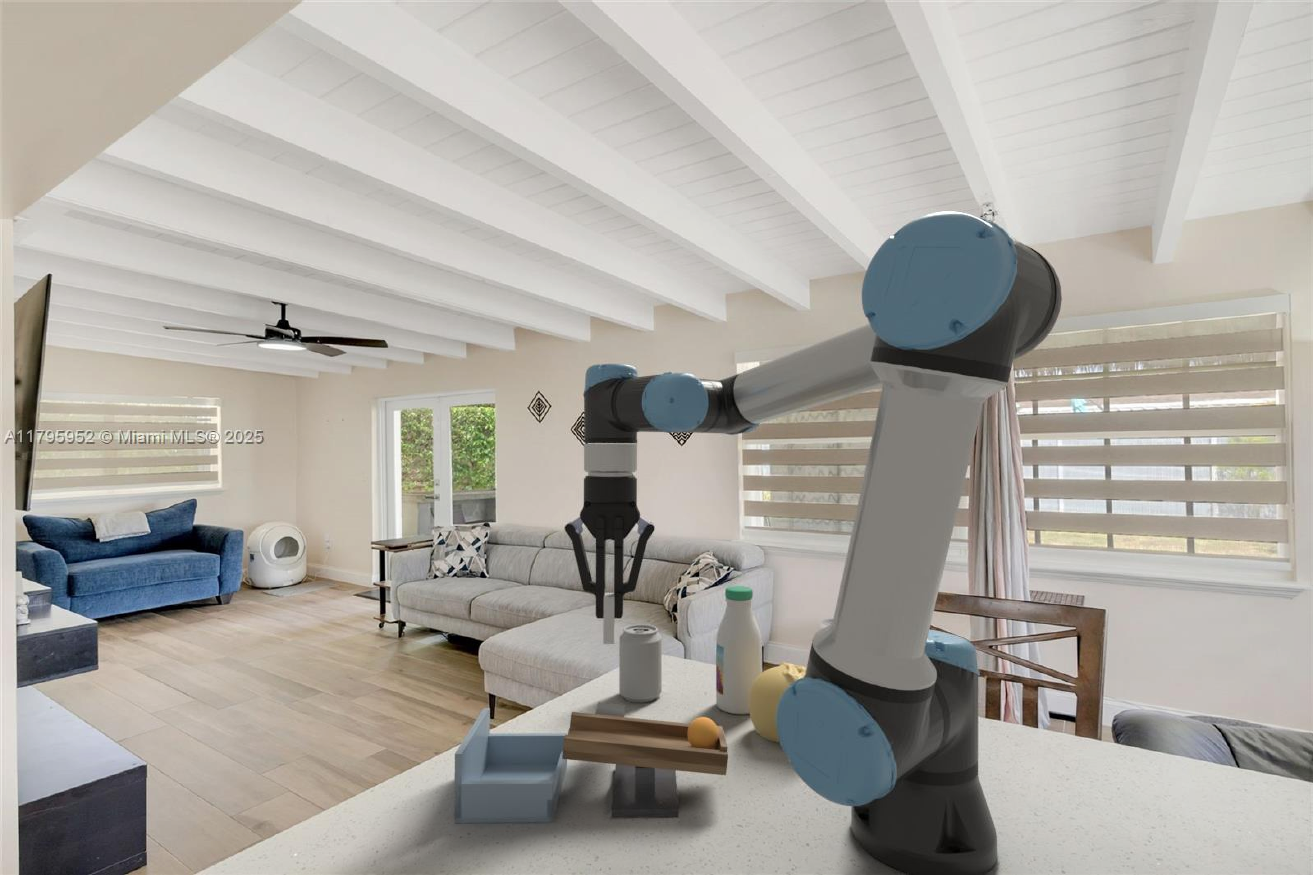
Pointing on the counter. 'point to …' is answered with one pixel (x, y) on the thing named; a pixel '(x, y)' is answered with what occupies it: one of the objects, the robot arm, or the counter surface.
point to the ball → (703, 733)
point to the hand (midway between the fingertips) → (609, 640)
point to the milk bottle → (737, 652)
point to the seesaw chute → (639, 742)
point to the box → (507, 775)
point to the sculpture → (771, 697)
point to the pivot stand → (644, 793)
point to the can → (640, 663)
